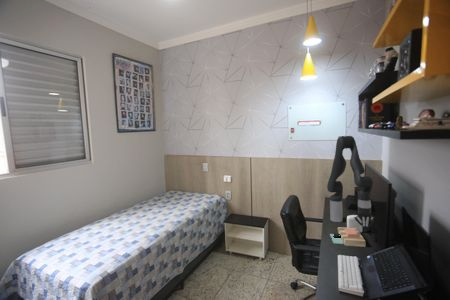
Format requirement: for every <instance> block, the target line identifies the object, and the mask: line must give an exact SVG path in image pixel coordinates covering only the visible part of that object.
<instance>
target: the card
mask: <svg viewBox="0 0 450 300" xmlns="http://www.w3.org/2000/svg"><path fill="white" fill-rule="evenodd" d="M344 231H345V233H346V234H347V236H348V237H358V234H357V232H356V231H355V230H354V229H348V228H347V227H346V228H344Z"/></svg>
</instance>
